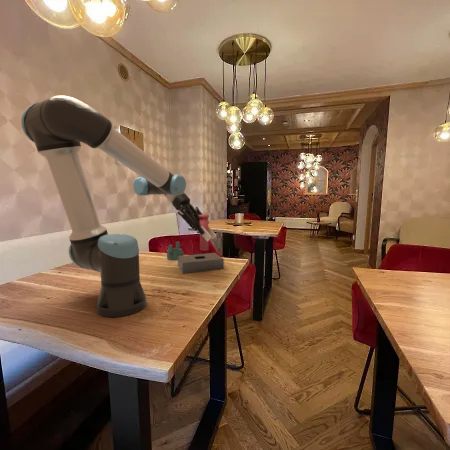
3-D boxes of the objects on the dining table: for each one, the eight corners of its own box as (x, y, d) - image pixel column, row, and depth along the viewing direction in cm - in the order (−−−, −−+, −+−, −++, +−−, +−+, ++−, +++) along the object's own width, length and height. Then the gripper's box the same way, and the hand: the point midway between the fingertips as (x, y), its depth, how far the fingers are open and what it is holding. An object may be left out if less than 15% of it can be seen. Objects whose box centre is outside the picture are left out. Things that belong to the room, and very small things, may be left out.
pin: (200, 251, 108) (199, 215, 106) (198, 249, 112) (197, 214, 110) (210, 250, 110) (210, 215, 108) (207, 248, 114) (207, 214, 112)
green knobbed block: (169, 261, 141) (168, 245, 140) (165, 257, 149) (165, 242, 148) (185, 259, 145) (184, 243, 144) (180, 256, 153) (180, 241, 152)
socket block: (182, 273, 119) (182, 263, 119) (177, 265, 132) (177, 256, 132) (223, 269, 126) (223, 259, 125) (215, 261, 139) (214, 252, 138)
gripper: (184, 203, 123) (215, 240, 118) (161, 205, 108) (196, 248, 103) (193, 192, 120) (226, 229, 115) (171, 192, 105) (207, 235, 100)
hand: (211, 238), depth 109 cm, fingers closed on pin, 3 cm apart
